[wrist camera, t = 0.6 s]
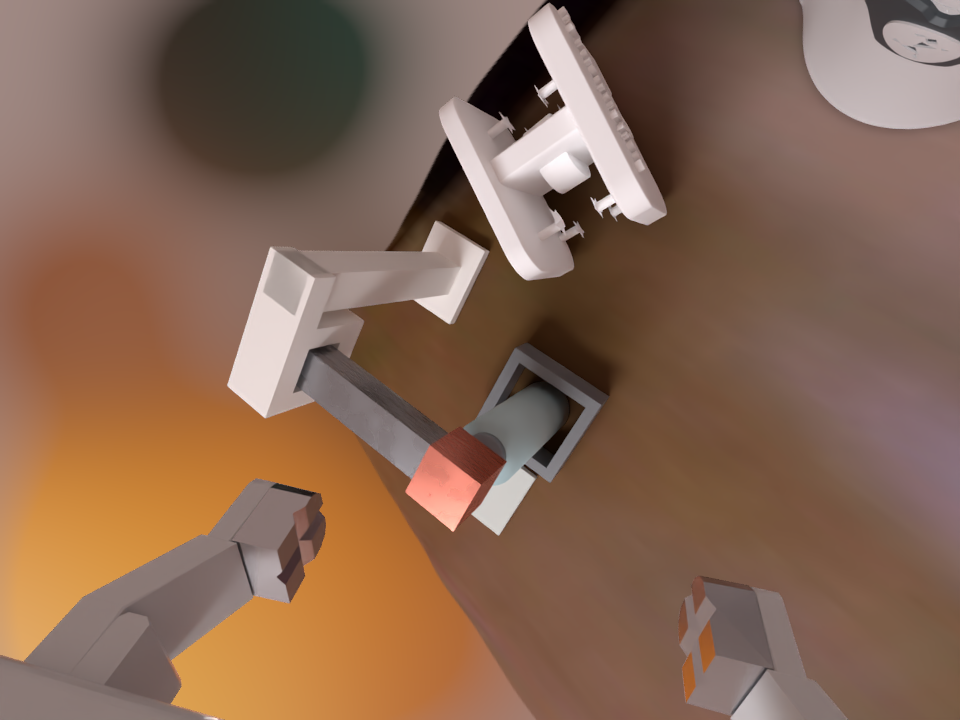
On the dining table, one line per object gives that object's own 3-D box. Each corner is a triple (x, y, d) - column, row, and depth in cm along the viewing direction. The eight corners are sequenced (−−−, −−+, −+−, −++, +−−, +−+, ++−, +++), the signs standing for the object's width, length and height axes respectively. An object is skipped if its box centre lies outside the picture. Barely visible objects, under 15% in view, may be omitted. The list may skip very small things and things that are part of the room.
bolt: (289, 299, 40) (246, 303, 37) (507, 461, 35) (481, 484, 31) (274, 341, 42) (232, 349, 38) (480, 504, 36) (453, 531, 33)
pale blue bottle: (534, 371, 49) (469, 409, 37) (579, 401, 48) (526, 451, 36) (510, 412, 51) (441, 461, 39) (552, 442, 50) (494, 502, 38)
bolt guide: (440, 221, 51) (270, 202, 32) (489, 251, 49) (340, 249, 31) (389, 337, 56) (218, 378, 37) (432, 367, 54) (275, 426, 36)
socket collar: (527, 342, 49) (515, 347, 46) (609, 396, 47) (601, 405, 44) (485, 416, 53) (472, 425, 50) (560, 470, 50) (550, 482, 47)
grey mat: (473, 429, 53) (470, 430, 53) (537, 476, 51) (535, 478, 51) (441, 485, 56) (438, 488, 56) (500, 532, 54) (498, 535, 54)
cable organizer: (490, 128, 47) (422, 93, 37) (595, 49, 42) (549, -17, 32) (564, 277, 47) (516, 283, 36) (678, 214, 42) (660, 201, 31)
